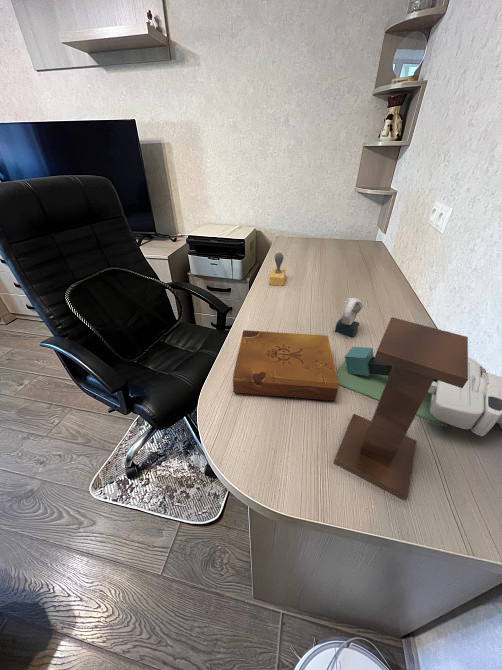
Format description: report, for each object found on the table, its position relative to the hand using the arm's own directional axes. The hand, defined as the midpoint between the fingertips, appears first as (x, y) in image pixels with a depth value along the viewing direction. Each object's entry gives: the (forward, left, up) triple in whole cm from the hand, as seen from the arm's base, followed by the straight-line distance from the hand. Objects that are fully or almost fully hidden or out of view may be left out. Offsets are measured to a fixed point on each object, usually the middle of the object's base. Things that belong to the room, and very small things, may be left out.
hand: (412, 370), depth 61 cm
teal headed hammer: (+4, 0, -3) cm, 5 cm away
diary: (+27, +9, -7) cm, 29 cm away
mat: (+3, 0, -7) cm, 7 cm away
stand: (+2, +20, -7) cm, 21 cm away
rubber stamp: (+55, -40, -7) cm, 68 cm away
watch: (+19, -18, -7) cm, 27 cm away
